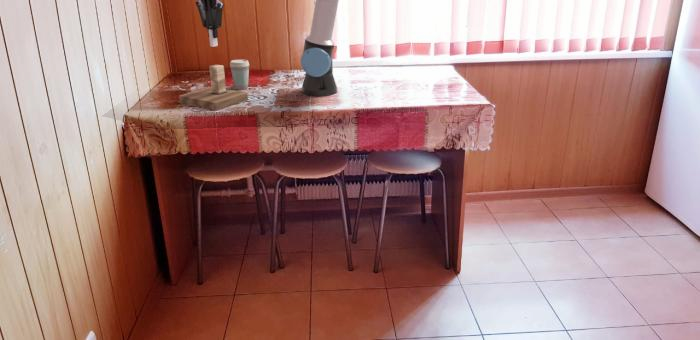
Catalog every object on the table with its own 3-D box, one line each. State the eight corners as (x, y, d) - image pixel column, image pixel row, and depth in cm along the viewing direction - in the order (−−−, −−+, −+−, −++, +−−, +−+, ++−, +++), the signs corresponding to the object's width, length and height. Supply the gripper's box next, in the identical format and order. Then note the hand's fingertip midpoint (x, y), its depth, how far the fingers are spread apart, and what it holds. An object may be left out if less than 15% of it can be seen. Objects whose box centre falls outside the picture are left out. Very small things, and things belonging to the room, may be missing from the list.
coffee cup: (246, 90, 225) (244, 63, 220) (228, 89, 226) (226, 62, 221) (254, 86, 232) (252, 59, 228) (236, 85, 234) (234, 58, 229)
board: (248, 100, 211) (247, 92, 210) (216, 110, 197) (215, 103, 195) (212, 93, 220) (212, 86, 219) (180, 102, 206) (179, 95, 205)
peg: (226, 99, 211) (223, 65, 206) (219, 101, 208) (216, 67, 203) (219, 98, 213) (216, 64, 208) (212, 100, 210) (209, 66, 205)
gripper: (227, -18, 194) (233, 46, 203) (202, -18, 200) (208, 43, 209) (213, -17, 188) (219, 49, 197) (187, -18, 194) (195, 46, 203)
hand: (214, 46), depth 203 cm, fingers closed
